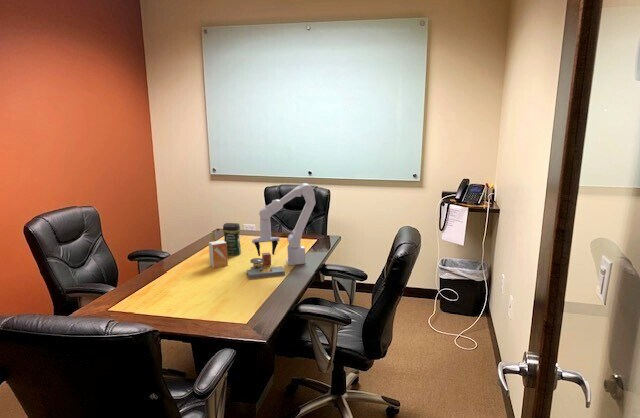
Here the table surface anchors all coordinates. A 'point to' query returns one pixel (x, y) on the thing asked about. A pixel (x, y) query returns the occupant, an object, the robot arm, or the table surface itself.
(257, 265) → the bobbin
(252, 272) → the notched board
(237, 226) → the coffee jar
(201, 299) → the table surface
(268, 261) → the block
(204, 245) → the table surface
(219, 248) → the small box
